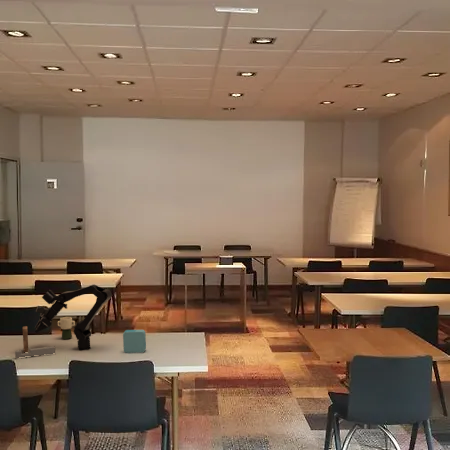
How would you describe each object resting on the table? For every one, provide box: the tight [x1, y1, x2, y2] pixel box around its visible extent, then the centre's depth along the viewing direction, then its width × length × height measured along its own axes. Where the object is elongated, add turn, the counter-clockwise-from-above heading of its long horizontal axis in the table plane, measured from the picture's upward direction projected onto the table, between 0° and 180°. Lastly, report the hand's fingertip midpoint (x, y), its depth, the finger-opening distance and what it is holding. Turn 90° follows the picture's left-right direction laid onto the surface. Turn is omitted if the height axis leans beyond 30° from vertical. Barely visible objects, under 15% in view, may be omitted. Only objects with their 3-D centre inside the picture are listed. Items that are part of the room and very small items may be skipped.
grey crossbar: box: [14, 346, 56, 358], centre depth 302 cm, size 21×2×4 cm, turn 110°
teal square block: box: [122, 329, 147, 354], centre depth 306 cm, size 12×4×12 cm, turn 89°
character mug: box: [57, 316, 76, 340], centre depth 339 cm, size 11×7×13 cm, turn 87°
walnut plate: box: [22, 325, 29, 353], centre depth 312 cm, size 2×7×14 cm, turn 20°
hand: (35, 330), depth 313 cm, fingers open, 9 cm apart
